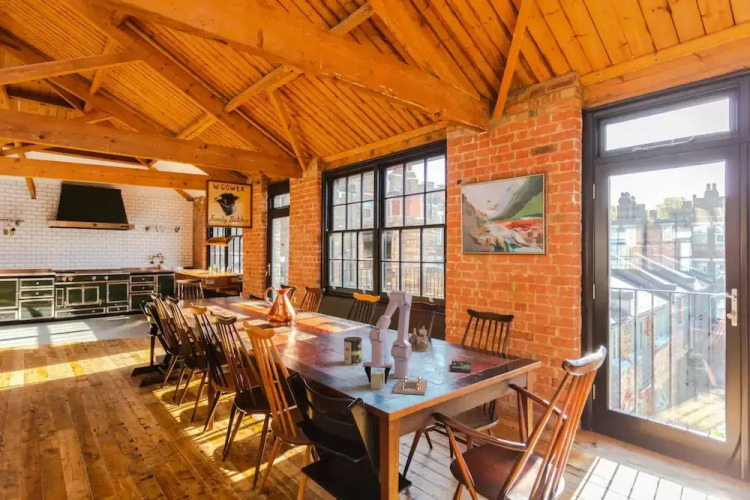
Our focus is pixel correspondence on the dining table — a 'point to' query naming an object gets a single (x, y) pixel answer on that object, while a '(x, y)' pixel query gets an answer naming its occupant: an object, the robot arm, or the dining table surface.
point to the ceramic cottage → (419, 341)
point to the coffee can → (352, 350)
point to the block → (377, 380)
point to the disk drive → (461, 366)
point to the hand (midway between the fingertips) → (377, 382)
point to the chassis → (411, 386)
